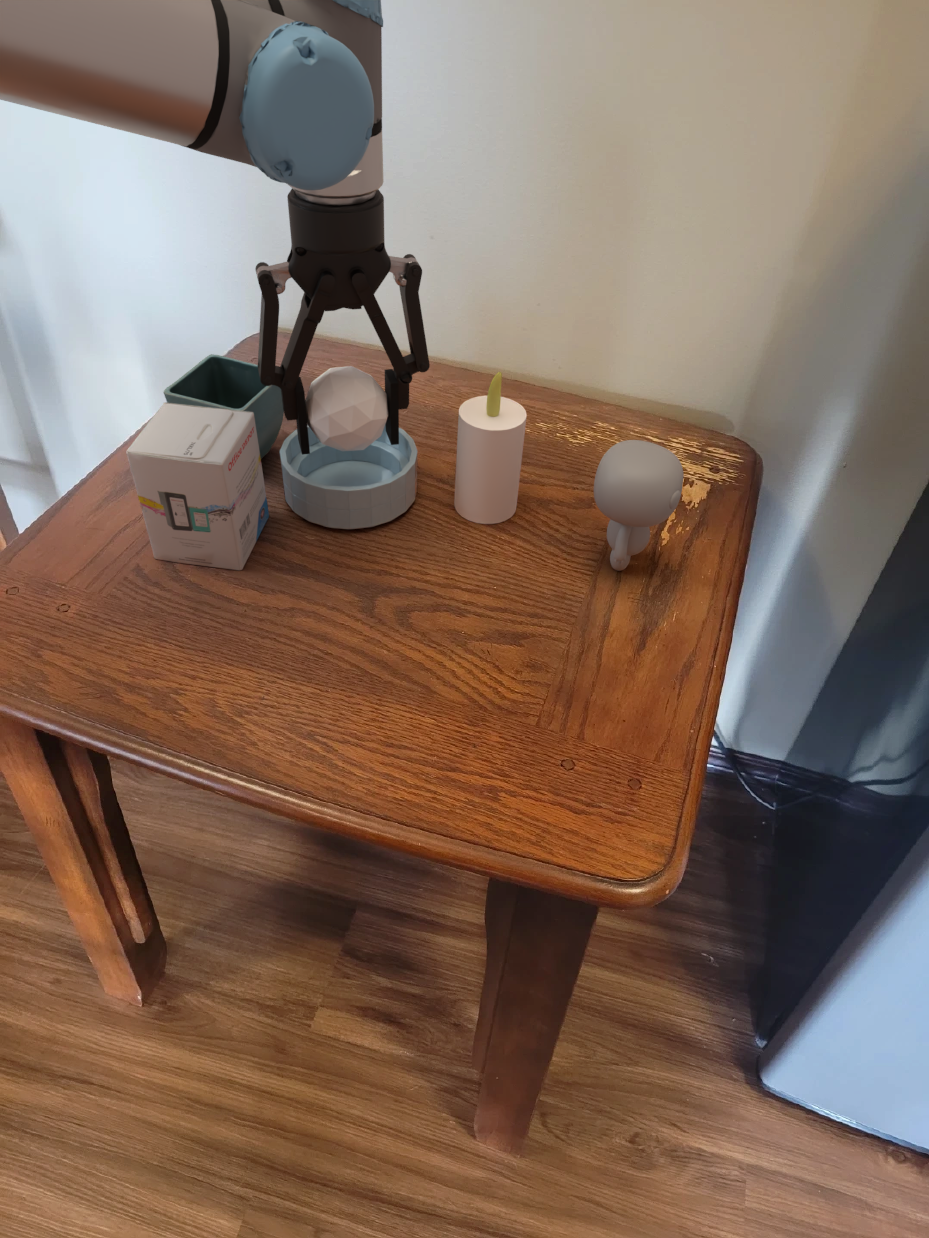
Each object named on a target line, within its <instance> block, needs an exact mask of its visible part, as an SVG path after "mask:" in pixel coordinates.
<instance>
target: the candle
mask: <svg viewBox="0 0 929 1238" xmlns="http://www.w3.org/2000/svg"><path fill="white" fill-rule="evenodd" d="M502 374H503V373H502V372H501V371H498V372H497V373H496V374H494V376H493V377H492V380H491V382H490V384H489V387H488V390H487V395H479V396H475V397H471V398H469V399H467V400H465V401H463V403H461V404H460V405H459V408H458V420H457V421H458V422H457V436H456V437H457V438H456V439H457V440H456V458H455V479H454V480H455V481H454V500H453V501H454V502H453V504H454V505H453V506H454V509H455V511H456V513H457V514H458V515H459V516H460V517H462V518H464V519H465V520H467V521H470V522H473V523H475V524H481V525H494V524H499V523H500V524H501V523H502V522H505V521H508V520H509V519H511V518H512V517H513V516H514V515H515V514H516V510H517V506H518V505H517V504H518V498H519V497H518V496H519V488H520V487H519V486H520V479H521V469H522V461H523V451H524V442H525V435H526V434H525V433H526V425H527V417H528V416H527V411H526V409H525V407H524V406H523V405H521V403H519V402H517V401H515V400H513V399H512V398H508V397H504V396H502V383H503V375H502Z"/></svg>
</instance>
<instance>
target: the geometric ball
mask: <svg viewBox="0 0 929 1238" xmlns="http://www.w3.org/2000/svg"><path fill="white" fill-rule="evenodd" d="M305 403H306V415H307V424H308V426H309V427H310V429H311V430H312V431H313V433H314V434H315V435H316V436H317V438H318V439H319V440H320V442H321V443H322V444H324V445H326V446H329V447H332V448H335V449H337V450H340V451H356V450H364V449H365V448H367V447H368V446H369V445H370V444H372V443H373V442H374V441H375V440H377V439H378V438H379V437H381V435H382V432H383V429H384V426H385V424H386V421H387V418H388V415H389V412H388V403H387V394H386V393H385V389H383V387H382V386H381V385H380V384H379V383H378V382H377V380H376V379H375V377H374V376H373V375H371V374H370V373H368V372H365V371H363V370H361V369H360V368H358V367H354V366H353V365H345V366H336V367H335V366H334V367H329V368H328V369H327V370H325V371H324V372H323V373H321V374H320V375H318V376H317V377H316V378H315V379H314V380H313V381H311V382H310V385H309V389H308V391H307V395H306V396H305Z"/></svg>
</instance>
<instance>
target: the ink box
mask: <svg viewBox="0 0 929 1238" xmlns="http://www.w3.org/2000/svg"><path fill="white" fill-rule="evenodd" d="M125 453H126V457H127V461H128V464H129V469H130V472H131V475H132V480H133V483H134V487H135V491H136V494H137V498H138V501H139V506H140V509H141V512H142V516H143V520H144V523H145V528H146V532H147V535H148V539H149V544H150V546H151V551H152V555H153V559H155V560H159V561H165V562H171V563H172V562H173V563H177V564H178V563H179V564H188V565H194V566H203V567H210V568H218V569H225V570H232V571H233V570H234V571H242V570H243V569H244V567H245V565H246V563H247V561H248V559H249V557H250V555H251V553H252V551H253V549H254V547H255V545H256V544H257V541H258V539H259V537H260V535H261V534H262V532H263V530H264V528H265V525H266V524H267V522H268V520H269V518H270V512H269V511H270V510H269V505H268V499H267V492H266V491H267V490H266V486H265V479H264V473H263V466H262V459H261V458H260V452H259V445H258V438H257V432H256V425H255V418H254V413H253V412H249V411H248V412H247V411H239V410H229V409H219V408H210V407H202V406H193V405H183V404H174V403H167V401H166V402H163V404H162V405H161V406H160V407H159V408H158V410H157V411H156V412H155V414H154V415H153V416H152V417H151V419H150V420H149V421H148V423H147V424H146V425H145V427H143V429H142V430H141V432H140V433H139V434H138V435H137V437H136V438H135V439H134V440H133V442H132V443H131V444H130V445H129V447H128V448H127V449H126V451H125Z"/></svg>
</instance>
